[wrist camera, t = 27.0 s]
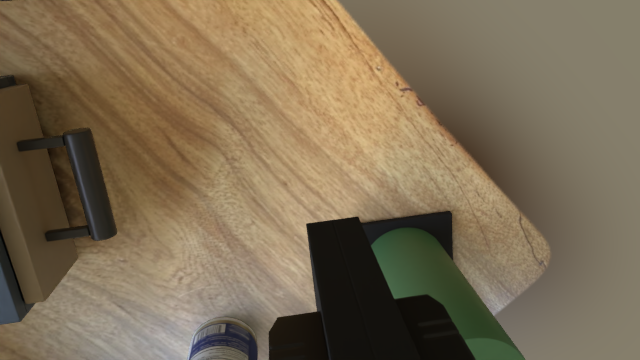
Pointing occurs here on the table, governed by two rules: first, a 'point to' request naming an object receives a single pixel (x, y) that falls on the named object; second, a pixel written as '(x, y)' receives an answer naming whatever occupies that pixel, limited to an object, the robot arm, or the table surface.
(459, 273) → the can
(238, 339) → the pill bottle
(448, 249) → the coaster
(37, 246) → the drawer
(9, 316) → the cabinet
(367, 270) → the robot arm
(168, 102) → the table surface
